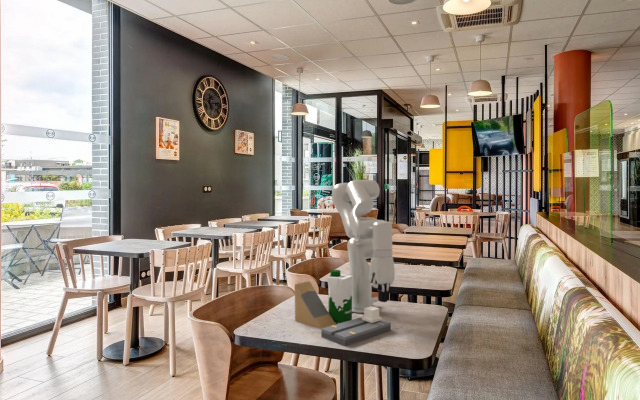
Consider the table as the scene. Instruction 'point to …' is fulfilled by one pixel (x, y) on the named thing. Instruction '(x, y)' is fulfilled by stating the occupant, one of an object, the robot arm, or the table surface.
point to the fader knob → (371, 314)
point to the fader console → (354, 331)
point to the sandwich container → (310, 307)
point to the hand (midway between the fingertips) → (382, 301)
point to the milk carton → (340, 296)
